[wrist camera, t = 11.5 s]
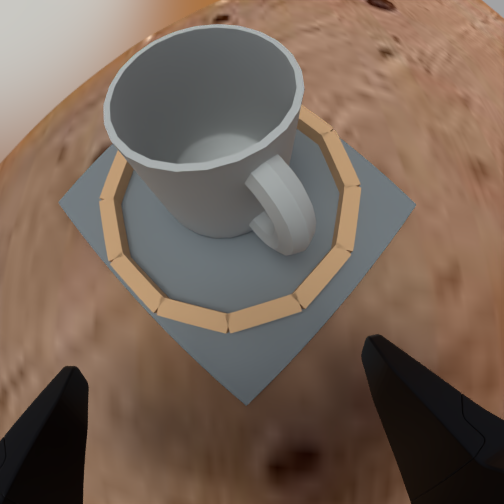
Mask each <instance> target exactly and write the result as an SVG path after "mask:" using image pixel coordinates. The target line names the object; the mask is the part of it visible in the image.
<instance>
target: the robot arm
mask: <svg viewBox="0 0 504 504" xmlns="http://www.w3.org/2000/svg"><path fill="white" fill-rule="evenodd" d="M361 357H362V362H363V366H364V369H365V373H366V376H367V380H368V384H369V387H370V391H371V395H372V398H373V401H374V404H375V407H376V409H377V412H378V414H379V417H380V419H381V422H382V424H383V427H384V429H385V432H386V435H387V437H388V440H389V443H390V445H391V448H392V451H393V453H394V456H395V459H396V461H397V464H398V467H399V470H400V472H401V475H402V478H403V481H404V484H405V487H406V490H407V492H408V495H409V498H410V501H411V504H504V420H502V419H501V418H499V417H497V416H495V415H494V414H492V413H490V412H489V411H487V410H485V409H484V408H482V407H481V406H479V405H478V404H476V403H475V402H473V401H472V400H470V399H469V398H468V397H466V396H465V395H464V394H461V392H459V391H458V390H457V389H455V388H454V387H452V386H451V385H450V384H448V383H447V382H445V381H444V380H443V379H441V378H440V377H439V376H437V375H436V374H434V373H433V372H432V371H430V370H429V369H427V368H426V367H425V366H423V365H422V364H421V363H419V362H418V361H416V360H415V359H414V358H412V357H411V356H409V355H408V354H407V353H405V352H404V351H402V350H401V349H400V348H398V347H397V346H395V345H394V344H393V343H391V342H390V341H389V340H387V339H386V338H384V337H383V336H381V335H379V334H376V335H372V336H368V337H367V338H366V340H365V344H364V347H363V350H362V355H361ZM88 391H89V387H88V383H87V381H86V379H85V378H84V376H83V375H82V373H81V371H80V370H79V369H78V367H76V366H65V367H64V368H63V369H62V370H61V371H60V372H59V373H58V374H57V375H56V377H55V378H54V379H53V380H52V381H51V382H50V383H49V384H48V385H47V387H46V388H45V389H44V390H43V391H42V392H41V393H40V395H39V396H38V397H37V398H36V399H35V400H34V401H33V403H32V404H31V405H30V406H29V407H28V408H27V410H26V411H25V412H24V413H23V414H22V415H21V417H20V418H19V419H18V420H17V421H16V423H15V424H14V425H13V426H12V427H11V429H10V430H9V431H8V432H7V433H6V435H5V436H4V437H3V438H2V439H1V441H0V504H83V482H84V464H85V451H86V440H87V429H88Z"/></svg>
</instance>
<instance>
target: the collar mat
mask: <svg viewBox="0 0 504 504" xmlns="http://www.w3.org/2000/svg"><path fill="white" fill-rule="evenodd" d="M332 130H333V127H332V126H330V125H329V124H328V123H326V122H325V121H324V120H322V119H321V118H319V117H318V116H317V115H315V114H314V113H313V112H311V111H310V110H308V109H307V108H305V107H304V106H303V105H301V109H300V114H299V119H298V124H297V129H296V134H295V139H294V144H293V149H292V154H291V159H290V164H289V167H290V168H291V169H292V170H293V172H294V173H295V174H296V176H297V177H298V179H299V180H300V181H301V183H302V185H303V187H304V189H305V191H306V193H307V195H308V197H309V199H310V201H311V203H312V205H313V209H314V213H315V218H316V229H315V234H314V236H313V238H312V240H311V241H310V243H309V245H308V247H307V248H306V250H305V251H303V252H299V253H296V254H292V255H286V256H285V255H283V254H281V253H279V252H277V251H276V250H274V249H272V248H271V247H269V246H268V245H267V244H265V243H264V242H263V241H262V240H261V239H260V238H259V237H258V235H257V234H256V233H255V232H254V231H253V230H252V231H250V232H248V233H246V234H242V235H239V236H235V237H232V238H212V237H208V236H204V235H199V234H197V233H195V232H193V231H192V230H190V229H188V228H186V227H185V226H183V225H182V224H181V223H180V222H179V221H178V220H177V219H176V218H175V217H174V216H173V215H172V214H171V213H170V212H169V211H168V210H167V208H166V207H165V206H164V205H163V204H162V202H161V201H160V200H159V199H158V198H157V197H156V195H155V194H154V193H153V192H152V191H151V189H150V188H149V187H148V186H147V185H146V183H145V182H144V181H143V180H142V179H141V177H140V176H139V175H138V174H137V172H136V171H135V170H134V169H133V168H132V166H131V165H130V164H129V163H128V162H127V160H126V159H125V158H124V157H123V155H122V154H121V153H120V152H119V150H118V149H117V148H116V147H115V146H114V144H112V145H111V146H110V147H109V148H108V149H107V150H106V151H105V152H104V153H103V154H102V155H101V156H100V157H99V158H98V159H97V160H96V161H95V162H94V163H93V164H92V165H91V166H90V167H89V168H88V169H87V171H86V172H85V173H84V174H83V175H82V176H81V177H80V178H79V179H78V180H77V181H76V183H75V184H74V185H73V186H72V187H71V188H70V189H69V191H68V192H67V193H66V194H65V195H64V196H63V198H62V199H61V200H60V201H59V202H58V203H59V204H60V206H61V207H62V208H63V210H64V211H65V213H66V214H67V215H68V217H69V218H70V219H71V221H72V222H73V223H74V225H75V226H76V227H77V229H78V230H79V231H80V233H81V234H82V235H83V237H84V238H85V239H86V240H87V242H88V243H89V244H90V245H91V247H92V248H93V249H94V251H95V252H96V253H97V254H98V255H99V257H100V258H101V259H102V260H103V262H104V263H105V264H106V265H107V266H108V268H109V269H110V270H111V271H112V272H113V274H114V275H115V276H116V277H117V278H118V279H119V281H120V282H121V283H122V284H123V285H124V286H125V287H126V289H127V290H128V291H129V292H130V293H131V294H132V295H133V296H134V298H135V299H136V300H137V301H138V302H139V303H140V304H141V305H142V306H143V307H144V309H145V310H146V311H147V312H148V313H149V314H150V315H151V316H152V317H153V318H154V319H155V320H156V321H157V322H158V323H159V324H160V325H161V326H162V328H163V329H164V330H165V331H166V332H167V333H168V334H169V335H170V336H171V337H172V338H173V339H174V340H175V341H176V342H177V343H178V344H179V345H180V346H181V347H182V348H183V349H184V350H185V351H186V352H187V353H188V354H190V355H191V356H192V357H193V358H194V359H195V360H196V361H197V362H198V363H199V364H200V365H201V366H202V367H203V368H204V369H205V370H206V371H208V372H209V373H210V374H211V375H212V376H213V377H214V378H215V379H216V380H217V381H218V382H220V383H221V384H222V385H223V386H224V387H225V388H226V389H227V390H229V391H230V392H231V393H232V394H233V395H234V396H236V397H237V398H238V399H239V400H240V401H241V402H243V403H244V404H245V405H246V406H247V405H248V404H249V403H250V402H251V401H252V400H253V399H254V398H255V397H256V396H257V395H258V394H259V393H260V392H261V391H262V390H263V389H264V388H265V387H266V386H267V385H268V384H269V383H270V382H271V381H272V380H273V379H274V378H275V377H276V376H277V375H278V374H279V373H280V372H281V371H282V370H283V369H284V368H285V367H286V366H287V365H288V363H289V362H290V361H291V360H292V359H293V358H294V357H295V356H296V355H297V354H298V353H299V352H300V351H301V350H302V348H303V347H304V346H305V345H306V344H307V343H308V342H309V341H310V340H311V339H312V337H313V336H314V335H315V334H316V333H317V332H318V331H319V330H320V328H321V327H322V326H323V325H324V324H325V323H326V322H327V320H328V319H329V318H330V317H331V316H332V315H333V313H334V312H335V311H336V310H337V309H338V307H339V306H340V305H341V304H342V303H343V302H344V300H345V299H346V298H347V297H348V295H349V294H350V293H351V292H352V291H353V289H354V288H355V287H356V286H357V284H358V283H359V282H360V281H361V279H362V278H363V277H364V276H365V274H366V273H367V272H368V270H369V269H370V268H371V267H372V265H373V264H374V263H375V261H376V260H377V259H378V257H379V256H380V255H381V254H382V252H383V251H384V250H385V248H386V247H387V245H388V244H389V243H390V241H391V240H392V239H393V237H394V236H395V235H396V233H397V232H398V230H399V229H400V228H401V226H402V225H403V223H404V222H405V221H406V219H407V218H408V216H409V215H410V213H411V212H412V210H413V209H414V208H415V206H416V204H415V203H414V202H413V201H412V200H411V199H410V198H409V197H408V196H407V195H406V194H405V193H404V192H402V191H401V190H400V189H399V188H398V187H397V186H396V185H395V184H394V183H393V182H392V181H391V180H389V179H388V178H387V177H386V176H385V175H384V174H383V173H382V172H380V171H379V170H378V169H377V168H376V167H375V166H373V165H372V164H371V163H370V162H369V161H368V160H366V159H365V158H364V157H363V156H362V155H360V154H359V153H358V152H357V151H356V150H354V149H353V148H352V147H351V146H349V145H348V144H347V143H346V142H344V141H343V140H342V139H340V138H339V136H338V134H337V132H336V130H335V131H332Z"/></svg>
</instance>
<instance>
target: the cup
mask: <svg viewBox="0 0 504 504" xmlns="http://www.w3.org/2000/svg"><path fill="white" fill-rule="evenodd" d="M303 93H304V83H303V76H302V70H301V68H300V67H299V65H298V63H297V61H296V60H295V58H294V56H293V55H292V53H291V52H289V51H288V50H287V49H286V48H285V47H284V46H283V45H282V44H281V43H280V42H279V41H277V40H275V39H273V38H271V37H269V36H268V35H266V34H264V33H262V32H260V31H256V30H253V29H249V28H245V27H242V26H234V25H221V24H215V25H203V26H195V27H191V28H187V29H183V30H180V31H176V32H173V33H171V34H168V35H166V36H164V37H162V38H160V39H157V40H155V41H153V42H152V43H150V44H149V45H147V46H146V47H144V48H143V49H141V50H140V51H139V52H137V53H136V54H135V55H133V56H132V57H131V58H130V59H129V61H128V62H127V63H126V64H125V65H124V66H123V67H122V68H121V69H120V70H119V72H118V73H117V75H116V76H115V78H114V80H113V81H112V83H111V85H110V86H109V89H108V92H107V95H106V99H105V102H104V125H105V127H106V130H107V132H108V135H109V137H110V140H111V142H112V143H113V144H114V146H115V147H116V148H117V149H118V150H119V152H120V153H121V154H122V155H123V157H124V158H125V159H126V160H127V162H128V163H129V164H130V165H131V166H132V168H133V169H134V170H135V171H136V172H137V174H138V175H139V176H140V177H141V179H142V180H143V181H144V182H145V183H146V185H147V186H148V187H149V188H150V189H151V191H152V192H153V193H154V194H155V195H156V197H157V198H158V199H159V200H160V201H161V202H162V204H163V205H164V206H165V207H166V208H167V210H168V211H169V212H170V213H171V214H172V215H173V216H174V217H175V218H176V219H177V220H178V221H179V222H180V223H181V224H182V225H183V226H185V227H186V228H188V229H190V230H192V231H193V232H195V233H197V234H199V235H204V236H208V237H212V238H232V237H235V236H239V235H242V234H246V233H248V232H250V231H252V230H253V231H254V232H255V233H256V234H257V235H258V237H259V238H260V239H261V240H262V241H263V242H264V243H265V244H267V245H268V246H269V247H271V248H272V249H274V250H276V251H277V252H279V253H281V254H283V255H285V256H286V255H292V254H296V253H299V252H303V251H305V250H306V248H307V247H308V245H309V243H310V241H311V240H312V238H313V236H314V234H315V229H316V218H315V213H314V209H313V205H312V203H311V201H310V199H309V197H308V195H307V193H306V191H305V189H304V187H303V185H302V183H301V181H300V180H299V179H298V177H297V176H296V174H295V173H294V172H293V170H292V169H291V168H290V167H289V164H290V159H291V154H292V149H293V144H294V139H295V134H296V129H297V124H298V119H299V114H300V109H301V104H302V99H303Z"/></svg>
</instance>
